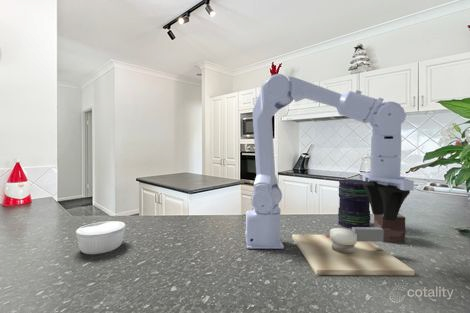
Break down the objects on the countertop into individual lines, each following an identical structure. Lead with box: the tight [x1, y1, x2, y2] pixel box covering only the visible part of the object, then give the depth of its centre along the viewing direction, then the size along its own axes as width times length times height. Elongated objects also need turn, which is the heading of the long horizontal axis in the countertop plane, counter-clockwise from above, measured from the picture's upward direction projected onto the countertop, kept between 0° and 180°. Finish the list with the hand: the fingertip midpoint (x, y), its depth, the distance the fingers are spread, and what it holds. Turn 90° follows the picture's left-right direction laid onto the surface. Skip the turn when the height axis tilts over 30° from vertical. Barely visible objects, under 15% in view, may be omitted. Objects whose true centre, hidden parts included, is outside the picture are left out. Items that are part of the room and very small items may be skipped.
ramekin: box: [75, 220, 126, 255], centre depth 60 cm, size 11×11×5 cm
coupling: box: [329, 226, 384, 245], centre depth 57 cm, size 12×6×3 cm, turn 90°
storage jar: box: [337, 179, 371, 230], centre depth 79 cm, size 10×10×15 cm
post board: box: [291, 233, 416, 276], centre depth 58 cm, size 20×20×3 cm
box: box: [373, 213, 406, 244], centre depth 68 cm, size 6×6×7 cm
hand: (383, 217), depth 53 cm, fingers open, 4 cm apart
